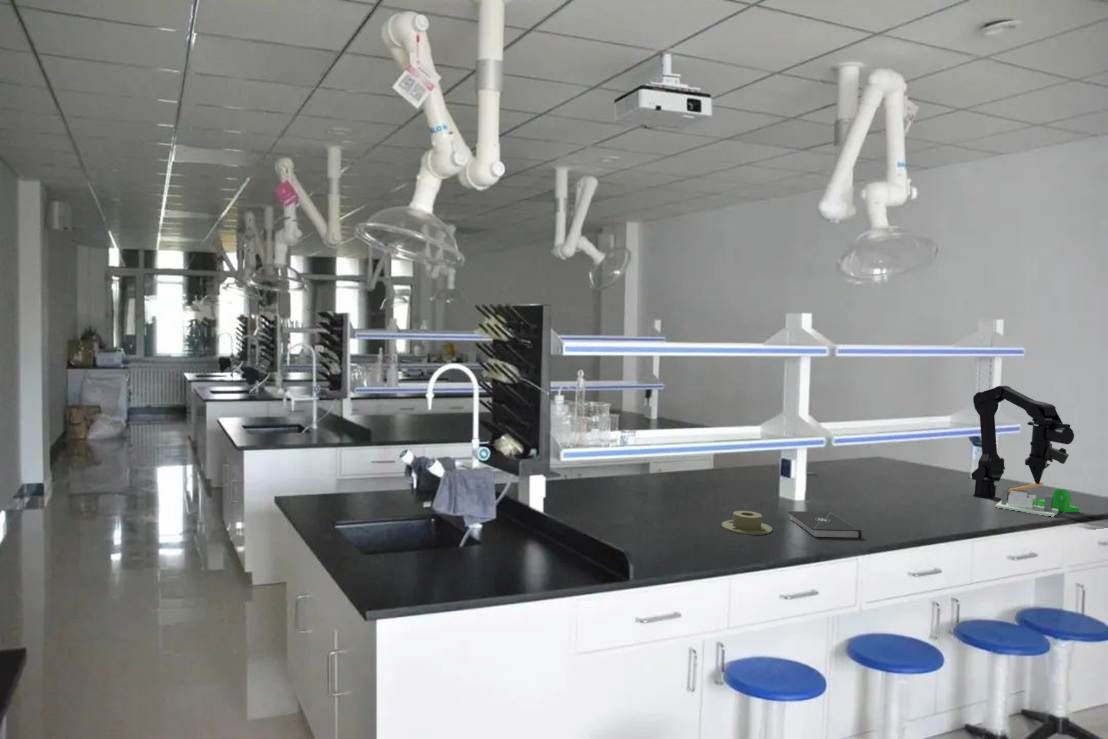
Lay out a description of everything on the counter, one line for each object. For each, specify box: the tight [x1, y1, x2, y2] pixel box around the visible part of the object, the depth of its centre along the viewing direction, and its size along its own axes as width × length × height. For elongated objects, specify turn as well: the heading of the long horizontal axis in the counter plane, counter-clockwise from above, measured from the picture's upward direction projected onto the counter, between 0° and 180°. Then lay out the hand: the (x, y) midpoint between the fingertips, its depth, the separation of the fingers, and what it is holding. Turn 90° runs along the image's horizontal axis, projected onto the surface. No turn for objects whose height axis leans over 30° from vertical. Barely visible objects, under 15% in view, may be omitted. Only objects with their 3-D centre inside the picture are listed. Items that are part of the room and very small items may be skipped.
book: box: [787, 510, 862, 539], centre depth 253 cm, size 22×15×3 cm
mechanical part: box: [1037, 488, 1080, 513], centre depth 294 cm, size 12×6×8 cm, turn 12°
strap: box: [1008, 481, 1044, 493], centre depth 291 cm, size 13×3×1 cm, turn 51°
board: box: [995, 500, 1060, 518], centre depth 291 cm, size 18×12×1 cm, turn 52°
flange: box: [721, 510, 773, 536], centre depth 250 cm, size 5×15×15 cm
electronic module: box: [1000, 486, 1053, 512], centre depth 291 cm, size 15×7×6 cm, turn 52°
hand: (1037, 483), depth 288 cm, fingers closed, pressing on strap
